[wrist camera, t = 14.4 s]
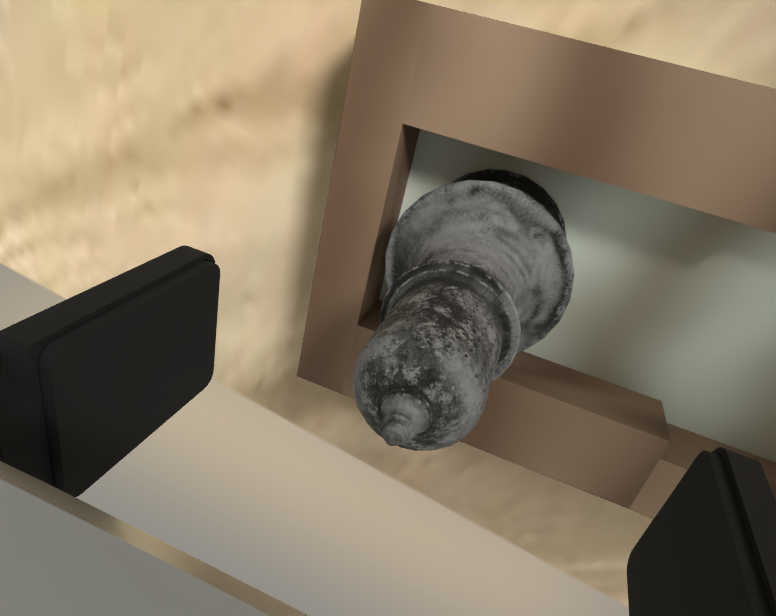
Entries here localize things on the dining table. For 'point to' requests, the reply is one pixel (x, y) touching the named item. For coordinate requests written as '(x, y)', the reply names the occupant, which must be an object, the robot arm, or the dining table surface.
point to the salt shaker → (461, 305)
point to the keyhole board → (573, 239)
